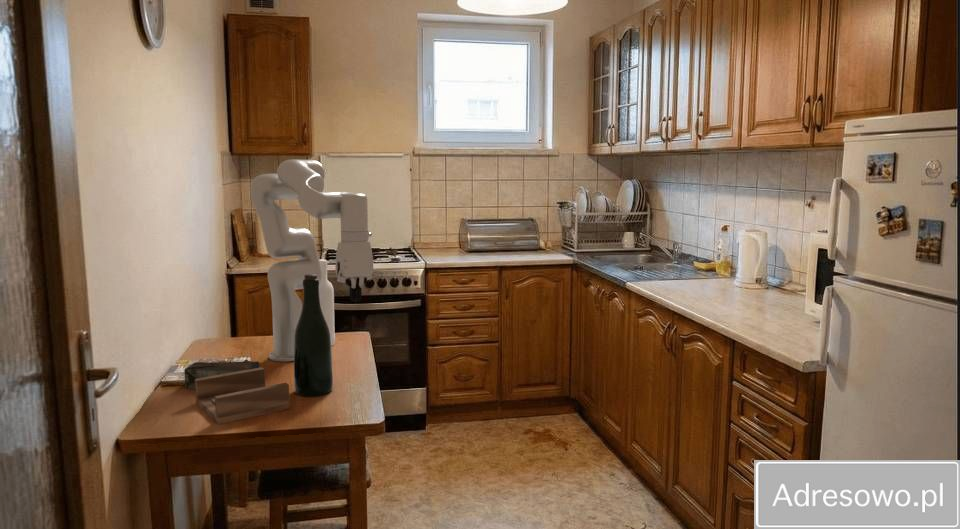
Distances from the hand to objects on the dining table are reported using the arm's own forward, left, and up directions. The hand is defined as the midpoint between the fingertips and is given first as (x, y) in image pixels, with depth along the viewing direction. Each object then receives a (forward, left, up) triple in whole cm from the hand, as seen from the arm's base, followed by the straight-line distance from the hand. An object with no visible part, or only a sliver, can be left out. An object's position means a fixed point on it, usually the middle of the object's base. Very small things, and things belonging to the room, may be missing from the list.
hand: (355, 300), depth 196 cm
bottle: (-45, +11, -24) cm, 52 cm away
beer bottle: (0, -13, -24) cm, 28 cm away
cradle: (0, -33, -24) cm, 41 cm away
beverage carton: (-21, -32, -25) cm, 45 cm away
